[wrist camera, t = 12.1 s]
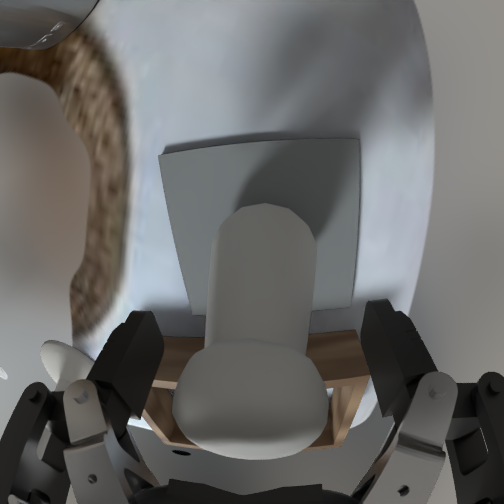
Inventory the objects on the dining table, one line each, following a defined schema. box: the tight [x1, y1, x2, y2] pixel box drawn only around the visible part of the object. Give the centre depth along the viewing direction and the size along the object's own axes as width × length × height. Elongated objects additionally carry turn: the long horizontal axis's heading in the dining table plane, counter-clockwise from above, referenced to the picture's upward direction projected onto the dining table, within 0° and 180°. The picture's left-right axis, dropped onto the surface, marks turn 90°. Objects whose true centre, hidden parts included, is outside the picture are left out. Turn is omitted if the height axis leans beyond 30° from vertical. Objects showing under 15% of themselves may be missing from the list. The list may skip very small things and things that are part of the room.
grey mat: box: [158, 138, 360, 315], centre depth 17 cm, size 12×12×1 cm
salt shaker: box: [172, 203, 329, 460], centre depth 11 cm, size 6×6×13 cm
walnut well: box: [142, 330, 370, 451], centre depth 23 cm, size 14×20×5 cm
